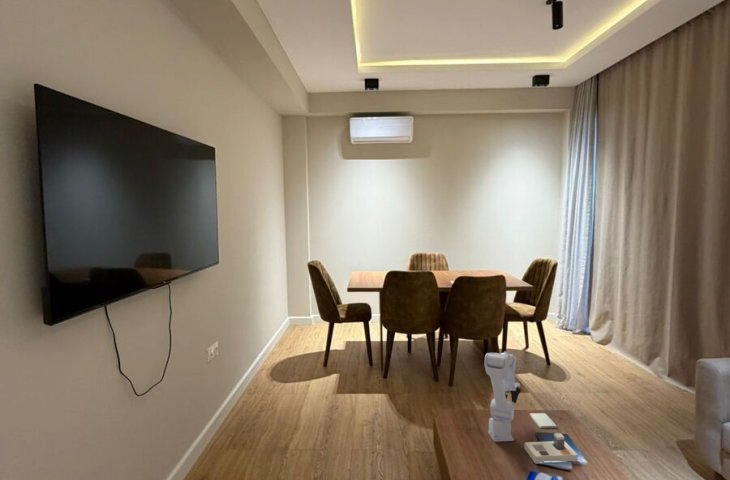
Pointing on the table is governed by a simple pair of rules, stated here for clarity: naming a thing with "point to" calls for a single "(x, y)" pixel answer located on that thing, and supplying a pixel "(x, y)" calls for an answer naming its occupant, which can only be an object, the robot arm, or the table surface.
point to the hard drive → (543, 420)
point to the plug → (558, 441)
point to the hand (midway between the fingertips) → (508, 404)
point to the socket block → (549, 452)
